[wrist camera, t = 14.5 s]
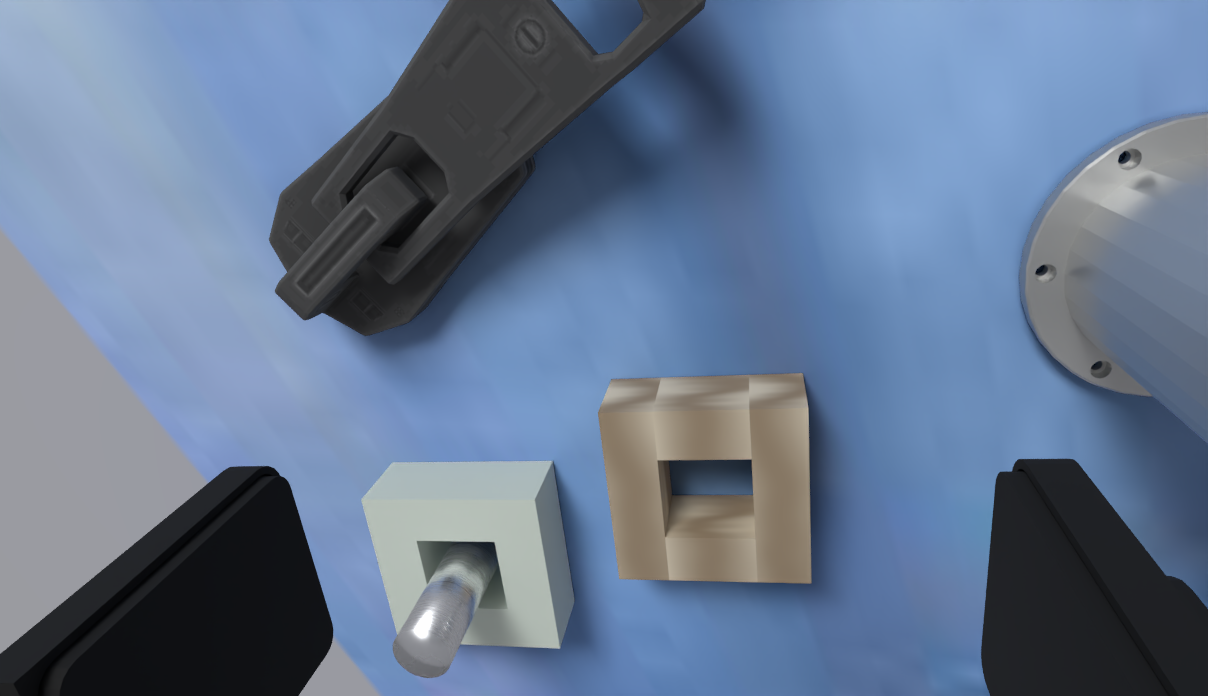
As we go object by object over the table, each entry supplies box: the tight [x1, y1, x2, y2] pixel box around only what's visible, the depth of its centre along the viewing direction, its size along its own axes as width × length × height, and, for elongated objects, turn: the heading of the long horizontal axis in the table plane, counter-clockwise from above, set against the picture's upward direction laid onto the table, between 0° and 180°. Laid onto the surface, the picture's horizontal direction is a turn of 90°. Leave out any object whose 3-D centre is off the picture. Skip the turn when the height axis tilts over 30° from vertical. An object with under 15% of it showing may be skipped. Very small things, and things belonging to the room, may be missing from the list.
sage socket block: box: [361, 461, 575, 649], centre depth 44 cm, size 10×10×4 cm
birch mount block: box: [598, 373, 811, 583], centre depth 39 cm, size 10×10×4 cm
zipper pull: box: [269, 0, 706, 336], centre depth 34 cm, size 9×7×25 cm
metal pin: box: [393, 541, 499, 678], centre depth 41 cm, size 3×3×10 cm
